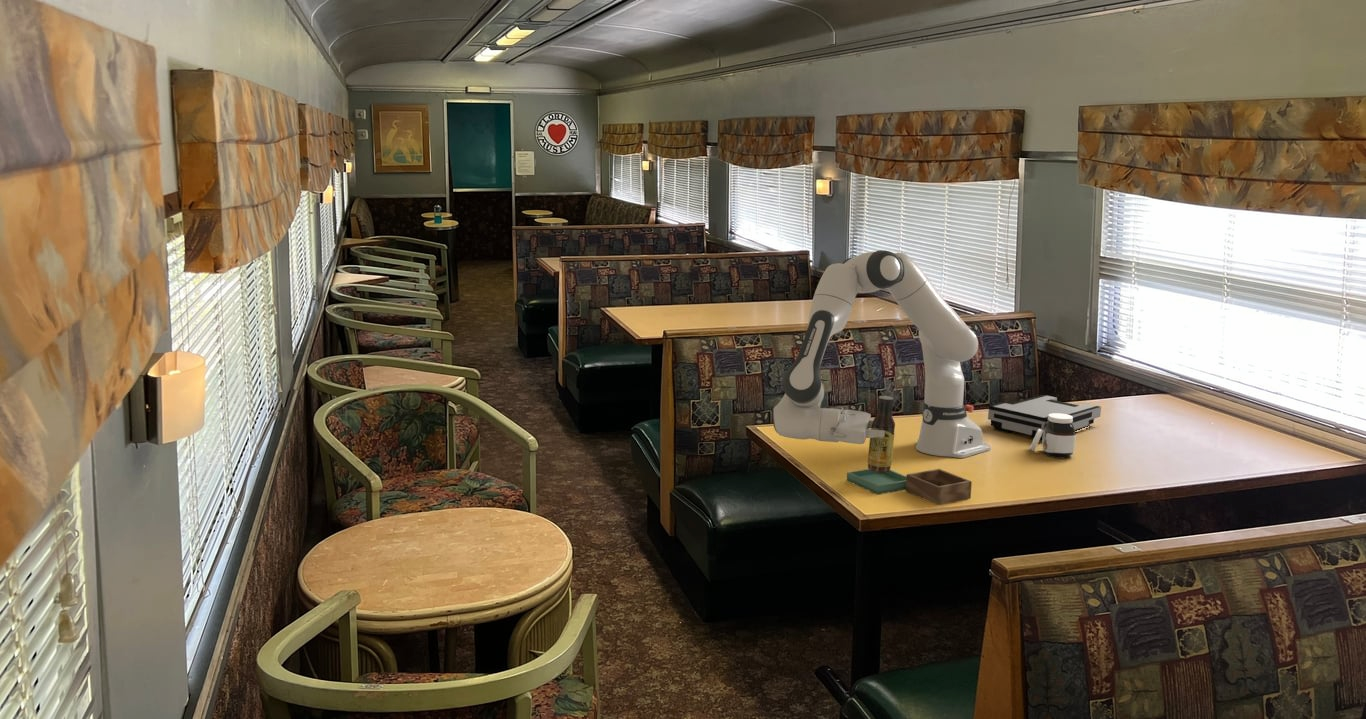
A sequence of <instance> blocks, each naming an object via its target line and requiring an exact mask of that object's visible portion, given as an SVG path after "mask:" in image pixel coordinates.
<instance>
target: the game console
mask: <svg viewBox="0 0 1366 719" xmlns="http://www.w3.org/2000/svg"><path fill="white" fill-rule="evenodd" d="M987 413H988V415H987V420H990V426H992V427H993V430H996V431H1000V432H1005V433H1009V434H1011V433H1014V431H1015V432H1017V433H1020V434H1021V433H1022V434H1025V435H1029V436H1030V439H1034V437H1035V435H1036V433H1037V431H1038V429H1041V430H1043V428H1044V425H1045V423H1046V422H1047V421H1048V415H1049V414H1052V413H1061V414H1067V415H1071V416H1072V417H1073V422H1072V424H1073V426H1074V429H1075V431H1077V430H1080V429H1082V428H1085V427H1088V426H1089V427H1090V425H1091V424H1094V422H1095V421H1094V420H1095V419H1098V418H1100V417H1101V414H1102V406H1099V405H1096V404H1095V405H1094V404H1090V403H1084V404H1073V403H1069V402H1064V401H1059V400H1058V398H1057V396H1056V397H1055V396H1051V395H1045V394H1040V395H1036V396H1033V397H1029V398H1026V399H1021V400H1019V401H1015V402H1011V403H1006V402H1001V401H1000V402H997V403H993V404H990V405H988V412H987ZM1042 437H1043V433H1042V435H1041V438H1040V440H1039V441H1042Z"/></svg>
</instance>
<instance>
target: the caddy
mask: <svg viewBox="0 0 1366 719" xmlns="http://www.w3.org/2000/svg"><path fill="white" fill-rule="evenodd" d="M906 476H907V477H906V489H905V492H907V493H909V494H911V495H914V496H915V497H919V498H921V499H923V500H926V501H928V502H930V503H933V504H936V505H937V506H938V505H944V504H949V503H953V502H958V501H963V500H968V499H969V500H970V499H972V498H971V497H972V485H973V484H972V482H973V481H972V480H969V479H967V478H964V477H962V476H958V475H957V474H954V473H951V472H949V471H947V470H946V471H945V470H943V469H940V468H935V469H929V470H925V471H919V472H913V473H907V474H906Z"/></svg>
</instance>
